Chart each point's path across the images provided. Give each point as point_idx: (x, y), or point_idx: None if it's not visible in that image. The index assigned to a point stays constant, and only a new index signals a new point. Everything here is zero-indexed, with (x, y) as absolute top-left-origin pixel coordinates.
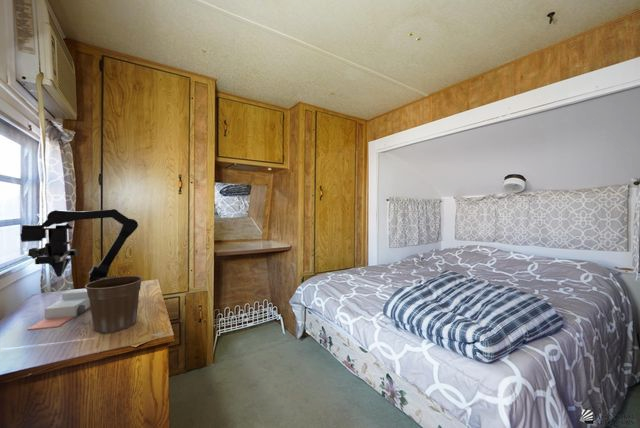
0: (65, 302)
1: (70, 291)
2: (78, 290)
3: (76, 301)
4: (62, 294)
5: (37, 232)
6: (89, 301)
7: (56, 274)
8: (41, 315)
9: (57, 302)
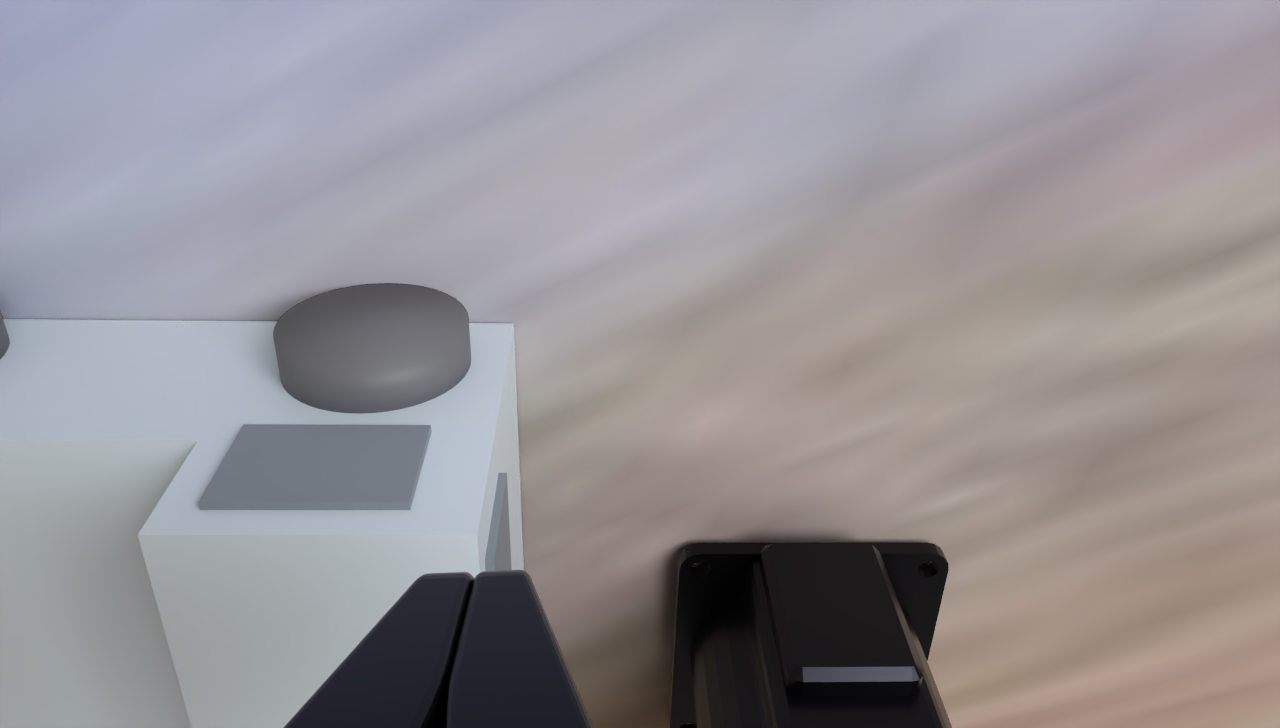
0: (3, 585)
1: (316, 614)
2: None
3: (58, 719)
4: (150, 526)
5: None
6: None
7: (355, 664)
8: (45, 86)
9: (8, 447)
